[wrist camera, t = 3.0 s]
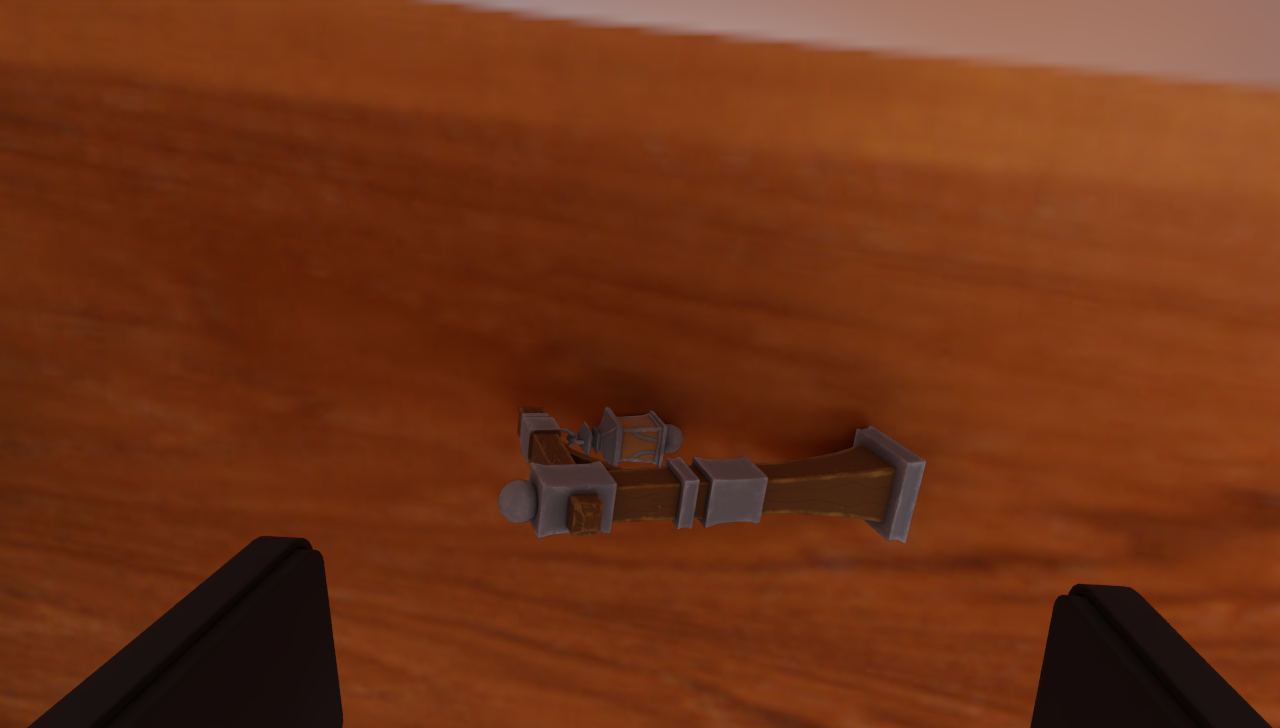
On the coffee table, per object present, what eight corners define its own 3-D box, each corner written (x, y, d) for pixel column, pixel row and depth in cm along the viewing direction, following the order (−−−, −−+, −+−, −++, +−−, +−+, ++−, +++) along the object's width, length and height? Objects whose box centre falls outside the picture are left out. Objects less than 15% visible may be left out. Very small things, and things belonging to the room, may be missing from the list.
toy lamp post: (479, 379, 15) (508, 476, 11) (811, 385, 18) (934, 465, 14) (474, 457, 16) (500, 578, 11) (797, 452, 18) (912, 549, 14)
